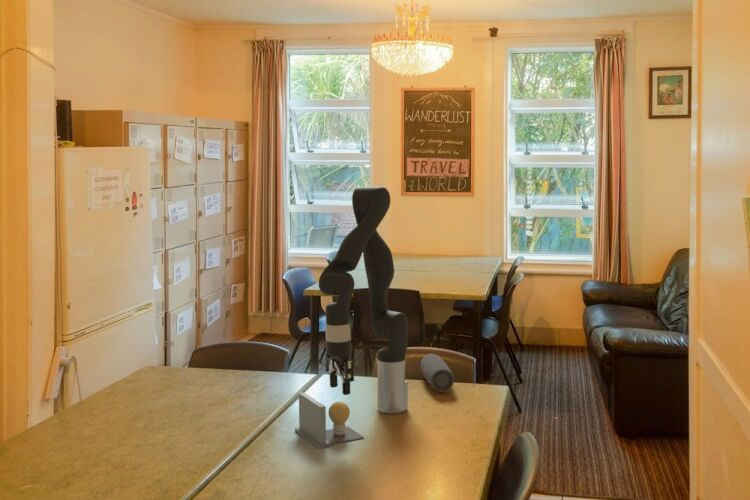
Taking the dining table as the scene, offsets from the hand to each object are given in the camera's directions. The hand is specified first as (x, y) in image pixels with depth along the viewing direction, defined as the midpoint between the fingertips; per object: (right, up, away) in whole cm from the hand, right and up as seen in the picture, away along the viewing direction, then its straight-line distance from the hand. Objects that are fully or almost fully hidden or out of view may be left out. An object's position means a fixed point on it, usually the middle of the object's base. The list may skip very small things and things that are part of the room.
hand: (340, 390), depth 238 cm
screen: (-8, -14, 0) cm, 16 cm away
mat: (0, -14, +2) cm, 14 cm away
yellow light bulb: (0, -14, +2) cm, 14 cm away
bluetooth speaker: (+33, -8, +53) cm, 63 cm away
